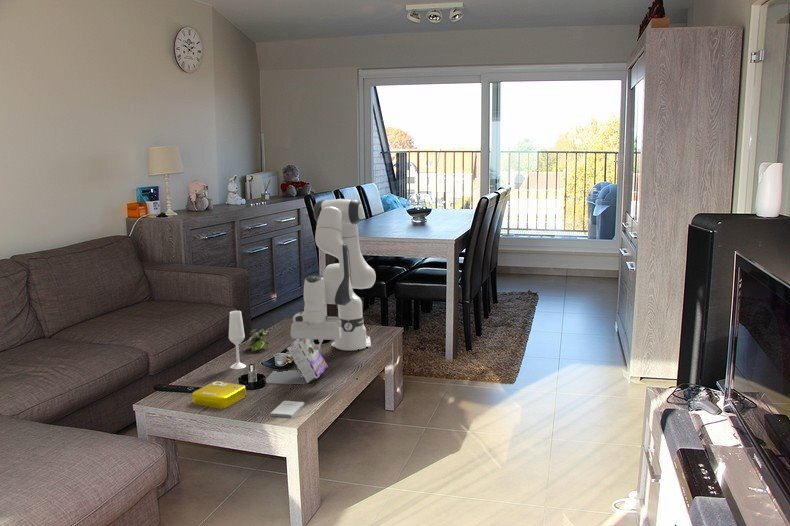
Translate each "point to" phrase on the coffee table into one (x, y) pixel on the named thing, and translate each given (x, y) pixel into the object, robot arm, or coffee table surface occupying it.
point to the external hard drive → (287, 409)
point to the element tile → (219, 394)
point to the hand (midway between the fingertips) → (316, 349)
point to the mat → (285, 377)
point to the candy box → (307, 359)
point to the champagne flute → (236, 335)
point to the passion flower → (258, 339)
